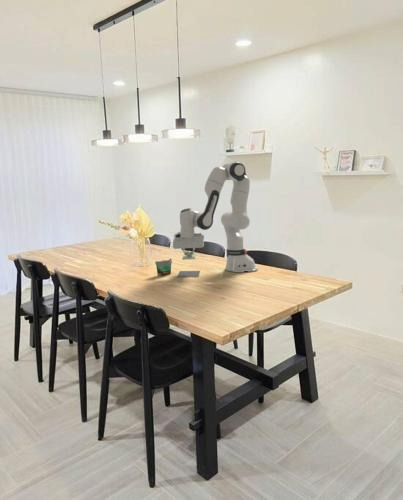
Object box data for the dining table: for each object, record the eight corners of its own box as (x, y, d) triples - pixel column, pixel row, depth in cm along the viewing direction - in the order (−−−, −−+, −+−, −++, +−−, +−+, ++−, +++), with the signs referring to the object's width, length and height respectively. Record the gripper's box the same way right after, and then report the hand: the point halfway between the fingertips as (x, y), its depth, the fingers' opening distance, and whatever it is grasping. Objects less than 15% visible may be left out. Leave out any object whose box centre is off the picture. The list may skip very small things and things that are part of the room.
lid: (196, 254, 265) (195, 249, 264) (194, 259, 252) (194, 253, 252) (184, 255, 266) (183, 249, 265) (182, 259, 253) (181, 253, 252)
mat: (200, 271, 269) (200, 270, 269) (198, 277, 252) (198, 277, 252) (179, 271, 270) (179, 271, 270) (176, 278, 253) (176, 277, 253)
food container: (161, 277, 255) (160, 262, 254) (155, 276, 260) (155, 261, 258) (176, 274, 263) (175, 259, 261) (171, 272, 268) (170, 258, 266)
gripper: (203, 232, 258) (205, 252, 261) (172, 233, 260) (174, 254, 263) (203, 233, 252) (204, 254, 255) (171, 235, 254) (173, 256, 256)
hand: (189, 254), depth 259 cm, fingers closed on lid, 3 cm apart
